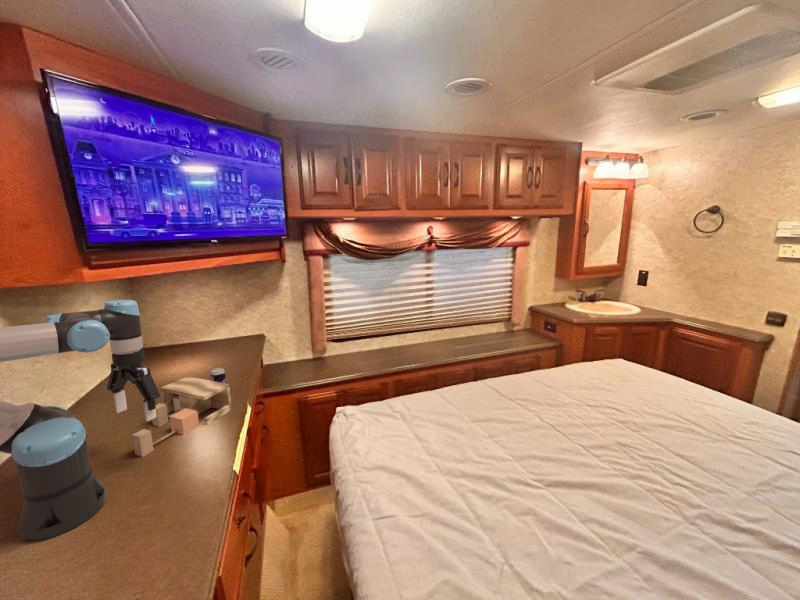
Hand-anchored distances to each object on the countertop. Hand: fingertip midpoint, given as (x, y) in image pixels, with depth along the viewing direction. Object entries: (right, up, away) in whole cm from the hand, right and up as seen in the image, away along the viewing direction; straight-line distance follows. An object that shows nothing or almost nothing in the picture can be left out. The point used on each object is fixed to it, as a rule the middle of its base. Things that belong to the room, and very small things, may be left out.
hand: (136, 415), depth 100 cm
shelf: (+2, -9, +27) cm, 29 cm away
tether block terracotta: (+3, -12, +10) cm, 16 cm away
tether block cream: (-5, -9, +25) cm, 27 cm away
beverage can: (+3, -6, +41) cm, 41 cm away
